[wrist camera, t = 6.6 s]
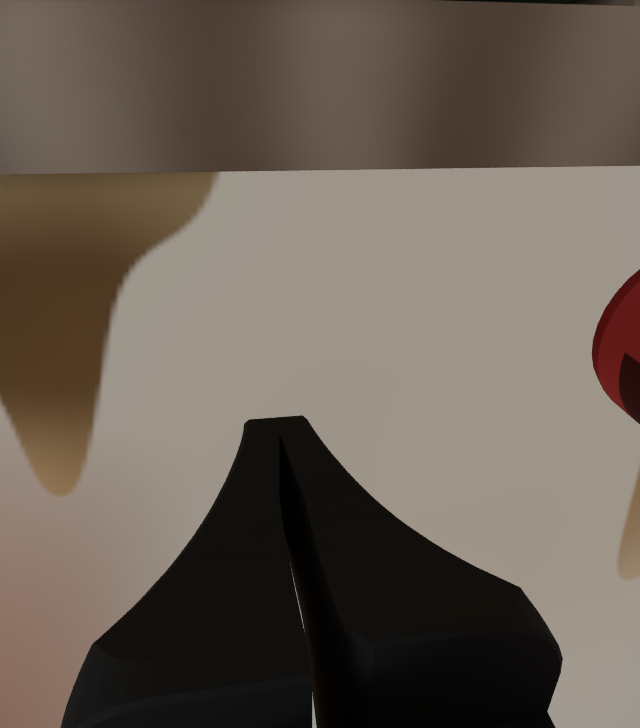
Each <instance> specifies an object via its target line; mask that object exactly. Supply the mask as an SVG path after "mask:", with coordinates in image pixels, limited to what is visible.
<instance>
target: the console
mask: <svg viewBox="0 0 640 728" xmlns="http://www.w3.org/2000/svg"><path fill="white" fill-rule="evenodd" d="M636 165H637V166H639V165H640V0H578V1H573V2H568V3H563V4H543V3H510V2H476V1H443V0H0V175H6V174H77V173H147V172H218V171H279V170H280V171H288V170H356V169H424V168H425V169H426V168H427V169H428V168H492V167H493V168H498V167H566V166H567V167H570V166H636Z"/></svg>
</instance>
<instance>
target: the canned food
mask: <svg viewBox="0 0 640 728" xmlns="http://www.w3.org/2000/svg"><path fill="white" fill-rule="evenodd" d="M592 359H593V367H594V370H595V372H596V375H597V377H598V379H599V381H600V384H601V385H602V388H603V390H604V391H605V392H606V394H607V395H608V396H609V397H610V399H611V400H612V401H613V402H615V403H616V404H617V405H618V406H619V407H620V408H621V409H623V410H624V411H625V412H626V413H627V414H628V415H630V416H631V417H632V418H633V419H634V420H635V421H636V422H638V423H639V424H640V270H638V271H637V272H636V273H635V274H634V275H633V276H631V277H630V278H629V279H628V280H627V281H626V282H625V283H624V284H623V286H622V287H621V288H620V289H619V290H618V291H617V292H616V294H615V295H614V297H613V298H612V299H611V301H610V303H609V304H608V305H607V307H606V308H605V310H604V312H603V314H602V317H601V319H600V321H599V323H598V325H597V329H596V332H595V336H594V339H593V347H592Z"/></svg>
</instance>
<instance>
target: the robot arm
mask: <svg viewBox="0 0 640 728" xmlns="http://www.w3.org/2000/svg"><path fill="white" fill-rule="evenodd" d="M291 569H292V571H291ZM292 573H293V576H292ZM293 578H294V581H293ZM294 582H295V586H294ZM295 587H296V591H297V596H298V600H299V605H300V609H301V613H302V619H303V623H302V619H301V614H300V610H299V605H298V600H297V596H296V592H295ZM303 624H304V628H303ZM304 630H305V632H304ZM562 660H563V658H562V655H561V651H560V648H559V645H558V644H557V642H556V640H555V638H554V637H553V635H552V633H551V631H550V630H549V628H548V626H547V625H546V623H545V621H544V620H543V619H542V617H541V615H540V614H539V612H538V611H537V610H536V608H535V607H534V606H533V604H532V603H531V602H530V601H529V599H528V598H527V596H526V595H525V594H524V592H523V591H522V589H521V588H520V587H518V586H516V585H514V584H511V583H509V582H507V581H505V580H503V579H501V578H498V577H497V576H494V575H492V574H490V573H488V572H486V571H484V570H481V569H479V568H477V567H475V566H473V565H471V564H469V563H467V562H466V561H464V560H462V559H460V558H458V557H457V556H455V555H453V554H451V553H449V552H447V551H446V550H444V549H442V548H441V547H439V546H438V545H436V544H434V543H433V542H431V541H429V540H428V539H427V538H425V537H423V536H422V535H421V534H419V533H417V532H416V531H415V530H413V529H412V528H410V527H409V526H407V525H406V524H404V523H403V522H402V521H401V520H399V519H398V518H397V517H395V516H394V515H393V514H392V513H391V512H389V511H388V510H387V509H385V508H384V507H383V506H382V505H381V504H380V503H379V502H378V501H376V500H375V499H374V498H373V497H372V496H371V495H370V494H369V493H368V492H367V491H366V490H365V489H364V488H363V487H362V486H361V485H359V483H358V482H357V481H356V480H355V479H354V478H353V477H352V476H351V475H350V474H349V473H348V472H347V471H346V470H345V468H344V467H343V466H342V465H341V464H340V463H339V461H338V460H337V459H336V458H335V457H334V456H333V454H332V453H331V452H330V451H329V450H328V448H327V447H326V446H325V444H324V443H323V442H322V440H321V439H320V438H319V436H318V435H317V434H316V432H315V431H314V429H313V428H312V426H311V425H310V423H309V422H308V420H307V419H306V418H305V417H304V416H290V417H277V418H264V419H251V420H248V421H247V422H246V423H245V424H244V431H243V435H242V440H241V443H240V446H239V449H238V452H237V455H236V458H235V460H234V462H233V465H232V467H231V470H230V472H229V474H228V477H227V479H226V481H225V483H224V485H223V487H222V489H221V491H220V492H219V494H218V496H217V498H216V500H215V502H214V504H213V506H212V507H211V509H210V511H209V513H208V514H207V516H206V517H205V519H204V521H203V522H202V524H201V525H200V527H199V528H198V530H197V531H196V533H195V534H194V536H193V537H192V539H191V540H190V541H189V543H188V544H187V545H186V547H185V548H184V549H183V551H182V552H181V554H180V555H179V556H178V557H177V559H176V560H175V561H174V562H173V564H172V565H171V566H170V567H169V568H168V570H167V571H166V572H165V573H164V574H163V575H162V576H161V577H160V579H159V580H158V581H157V582H156V583H155V584H154V585H153V586H152V587H151V588H150V590H149V591H148V592H147V593H146V594H145V595H144V596H143V597H142V598H141V600H139V601H138V602H137V604H135V605H134V607H132V608H131V610H129V611H128V612H127V613H126V614H125V615H124V616H123V617H122V618H121V619H120V620H118V621H117V622H116V623H115V624H114V625H113V626H112V627H111V628H110V629H109V630H108V631H107V632H106V633H104V634H103V635H102V636H101V637H100V638H99V639H98V640H97V641H95V642H94V643H93V644H92V646H91V648H90V650H89V652H88V654H87V657H86V659H85V661H84V663H83V665H82V668H81V670H80V672H79V674H78V677H77V679H76V682H75V685H74V687H73V690H72V692H71V695H70V698H69V701H68V703H67V706H66V710H65V713H64V717H63V721H62V725H61V728H312V692H313V700H314V709H315V717H316V725H317V728H555V726H554V724H553V722H552V720H551V718H550V716H549V714H548V712H547V711H548V708H549V705H550V702H551V699H552V696H553V693H554V690H555V687H556V684H557V682H558V679H559V676H560V673H561V666H562Z"/></svg>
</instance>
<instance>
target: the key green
mask: <svg viewBox="0 0 640 728" xmlns="http://www.w3.org/2000/svg"><path fill="white" fill-rule="evenodd" d="M443 1H476V2H510V3H543V4H563V3H568V2H573V1H578V0H443Z"/></svg>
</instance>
